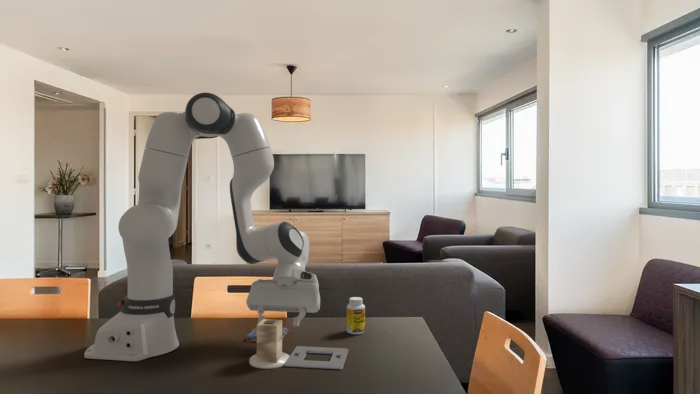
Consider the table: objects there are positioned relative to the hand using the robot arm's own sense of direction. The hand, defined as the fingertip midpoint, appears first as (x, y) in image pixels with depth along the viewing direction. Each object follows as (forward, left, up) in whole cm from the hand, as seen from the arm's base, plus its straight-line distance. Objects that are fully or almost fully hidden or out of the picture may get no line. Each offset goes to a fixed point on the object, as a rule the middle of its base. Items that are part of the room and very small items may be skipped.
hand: (278, 324), depth 117 cm
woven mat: (-4, +12, -8) cm, 15 cm away
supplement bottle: (+22, +15, -7) cm, 27 cm away
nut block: (-1, -7, -6) cm, 10 cm away
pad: (-1, -7, -7) cm, 10 cm away
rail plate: (+11, -6, -7) cm, 14 cm away
